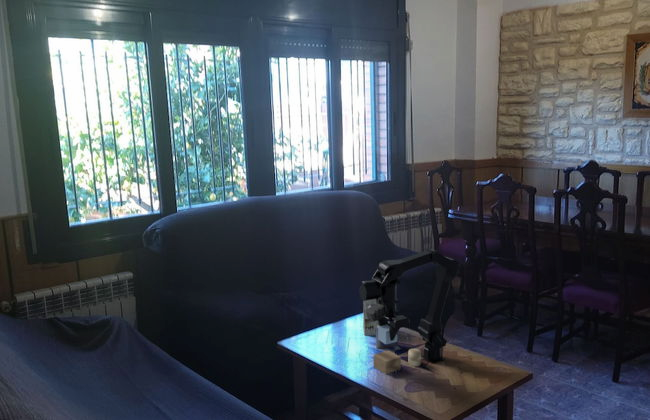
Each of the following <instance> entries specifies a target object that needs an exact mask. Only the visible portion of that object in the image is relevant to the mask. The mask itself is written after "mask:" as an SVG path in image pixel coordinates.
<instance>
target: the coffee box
mask: <svg viewBox="0 0 650 420" xmlns="http://www.w3.org/2000/svg"><path fill="white" fill-rule="evenodd" d="M378 299H379V298H378ZM378 299H373V300H366V301H363V300H362V301H363V303H362V305H363V315H362V316H363V317H362V319H363V323H362V325H363V335H364V336H376V328H377V326H379V324H378V321H372V320H370V319H368V317H367V314H366V311H365V310H366V309H367V308H368V307H369V305H373V304H377V300H378Z"/></svg>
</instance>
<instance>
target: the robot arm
mask: <svg viewBox="0 0 650 420" xmlns="http://www.w3.org/2000/svg"><path fill="white" fill-rule="evenodd" d="M430 263H432V264H434V265H435V275H436V281H435V286H434V289H433V294H432V297H431V301H430V303H429V304H430V305H429V308H428V312H427V315H426V316H425V318H420V320H419V325H418V327H417V329H418V334H419V335H420V337H421V339H422V341H424V347H423V355H422V354H421V358H422V359H424V360H425V361H428V362H430V363H431V364H435V363H437V362H442V361H445V360H446V357H444V356H443V355H444V354H443V353H444V347H446V346H447V343H448V341H447V339H446V338H445V337H444V336H442V331H443V326H442V320H441V318H442V315H443V311H444V307H445V303H446V300H447V296H448V292H449V289H450V284H451V283H452V282H453V280H455V278H456V277H457V275H458V273H459V270H460V264H459V262H458V261H457V260H455V259H454V258H450V257H447V256H444V255H442V254H441V253H440V252H439V251H437V250H434V249H432V248H428V249H425V250H423V251H421V252H418V253H415V254H412V255H410V256H406V257H403V258H401V259H387V260H383V261H380V263H379V264H378V267H377V269H376V271H375V272H374V274H373V276H372V277H371V280H363V281H361V284H360V286H359V289H358V292H359V298H360V299H361V300H362V301H366V300H373V299H378V298H379V299H378V300H377V304H373V305H369V307H368V308H367V309H366V310H365V311H366V314H367V317H368V319H370V320H372V321H378V324H379V326H383V325H387V326H388V327H389V331H390V340H391V341H393V340H394V338H395V336H396V334H397V333H398V334H399V332H400V329H401V328H406V327H410V326H411V323H410V322H411V321H410V318H408V317H406V316H405V315H403V314H402V315H397V314H399V310H398V309H397V304H399V299H397V285H402V284H403V282H402V281H401V280H400V279H399V278H400V277H402V276H403V275H404V274H405V273H406V272H408V271H411V270H414V269H416V268H419V267H422V266H425V265H427V264H430ZM388 323H389V324H388Z"/></svg>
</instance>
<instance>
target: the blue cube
mask: <svg viewBox="0 0 650 420" xmlns="http://www.w3.org/2000/svg"><path fill="white" fill-rule="evenodd" d="M378 340H379V341H381V342H383V343H384V344H390V343H394V342H397V343H398V341H397V334H396V336H395V338H394V340H393V341H391V340H390V331H389V327H388V326H387V325H383V326H378Z"/></svg>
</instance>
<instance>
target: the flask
mask: <svg viewBox="0 0 650 420" xmlns="http://www.w3.org/2000/svg"><path fill="white" fill-rule="evenodd" d="M389 323H390V322H388V324H389ZM398 334H399V332H398V333H397V342H394V343H390V344H384V343H383V342H381V341H379V340H378V326H377V328H376V335H375V337H376V339H375V340H376V343H375V347H376V348H377V349H380V350H381V349H387V347H388V348H392V347H393V348H394V347H397V346H398V338H399V337H398Z"/></svg>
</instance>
